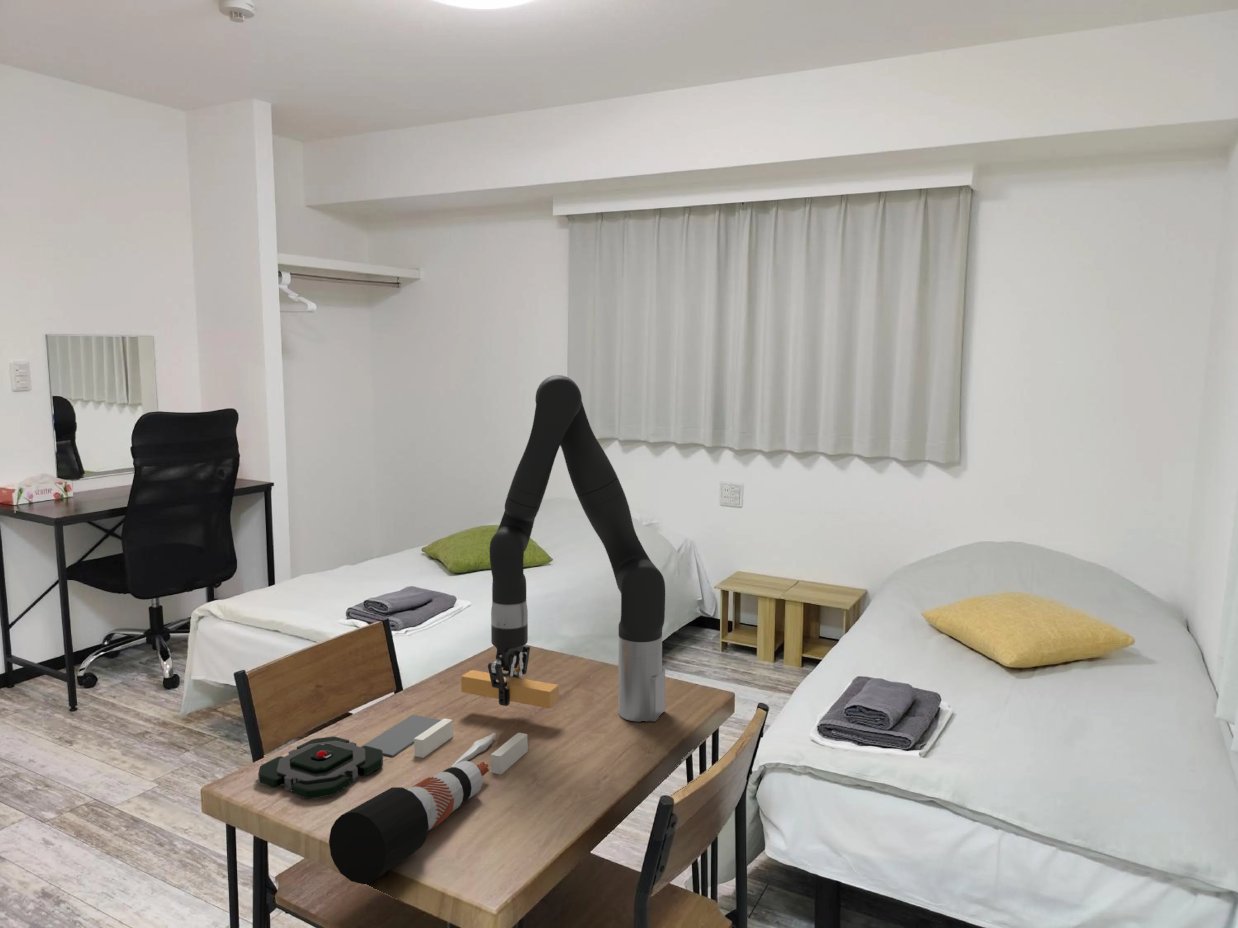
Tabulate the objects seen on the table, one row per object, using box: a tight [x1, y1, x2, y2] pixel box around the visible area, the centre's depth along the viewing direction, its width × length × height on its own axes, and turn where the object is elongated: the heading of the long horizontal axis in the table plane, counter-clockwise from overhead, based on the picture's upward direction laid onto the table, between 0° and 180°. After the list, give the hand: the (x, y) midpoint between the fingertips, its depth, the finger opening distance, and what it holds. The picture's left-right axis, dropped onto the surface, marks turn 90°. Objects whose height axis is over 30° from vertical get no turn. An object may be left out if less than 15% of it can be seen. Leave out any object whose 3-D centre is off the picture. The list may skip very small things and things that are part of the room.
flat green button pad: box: [257, 735, 384, 799], centre depth 156 cm, size 18×18×5 cm
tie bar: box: [460, 669, 560, 709], centre depth 179 cm, size 21×4×4 cm, turn 67°
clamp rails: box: [413, 718, 529, 775], centre depth 163 cm, size 19×10×4 cm, turn 67°
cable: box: [328, 760, 490, 885], centre depth 137 cm, size 10×34×10 cm, turn 155°
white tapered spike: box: [451, 732, 497, 767], centre depth 163 cm, size 15×3×2 cm, turn 156°
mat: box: [360, 713, 442, 758], centre depth 172 cm, size 8×17×1 cm, turn 157°
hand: (509, 700), depth 179 cm, fingers closed on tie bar, 4 cm apart
